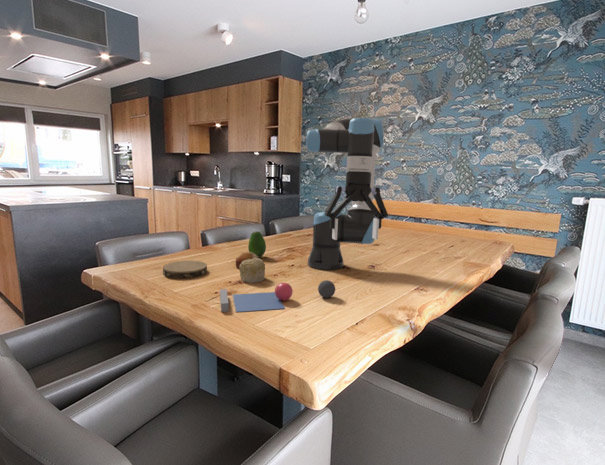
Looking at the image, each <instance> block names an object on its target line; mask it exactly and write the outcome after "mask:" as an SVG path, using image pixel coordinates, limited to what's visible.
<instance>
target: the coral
mask: <svg viewBox="0 0 605 465" xmlns="http://www.w3.org/2000/svg"><path fill="white" fill-rule="evenodd" d="M238 270H239V276H240V280H241V282H245V283H251V284H253V283H261V282H262V281H263V282H264V279H265V276H266V271H265V270H266V264H265V263H264V261H263V260H262V259H261V258H260V257H258V258H254V259H247V260H245V261H243V262H242V263H241V264H240V266H239V269H238Z"/></svg>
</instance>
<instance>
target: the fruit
mask: <svg viewBox="0 0 605 465" xmlns="http://www.w3.org/2000/svg"><path fill="white" fill-rule="evenodd" d="M266 244H267V243H266V240H265V238H264V235H263V234H262V232H260V231H258V230H257V231H253V232H251V234H250V236H249V240H248V244H247V245H248V246H247V247H248V252H251V253H254V254H255V255H257V256H258V258H261V257H263V256H264V254H265V253H266V249H267V245H266Z"/></svg>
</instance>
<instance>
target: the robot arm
mask: <svg viewBox="0 0 605 465" xmlns="http://www.w3.org/2000/svg"><path fill="white" fill-rule="evenodd" d="M383 126H384V125H383V121H382V120H381V119H378V118H369V117H355V118H343V119H339V120H335V121H332V122H329V123H328V124H327V125H326V126H325V127H324V128H323V129H321V128H319V129H318V128H313V129H309V130H308V131H307V133H306V136H305V137H306V141H305V143H306V144H305V146H306V150H307V151H308V152H310V153H316V154H318V153H340V154H341V153H343V154H347V160H346V169H347V170H348V171H346V176H345V177H346V178H345V187H344V186H343V187H342V186H339V185H337V186H336V187H335V192H334V194H333V196H332V198H331V200H330V202H329V203H328V205H327V208H326V210H325V211H320V212H316V213H315V214H314V216H313V223H312V225H313V227H312V228H313V229H312V247H311V250H310V253H309V256H308V259H307V265H308V266H309V267H310V268H312V269H317V270H326V271H328V270H329V271H331V270H332V271H333V270H340V269H342V268H343V267H344V257H343V255H342V251H341V243H347V244H360V245H372V244H373V243H374V242H375V240H378V239H379V230H380V229H381V228H382V220H383V219H384V218H387V217H388V216H389V214H388V211H387V209H386V206H385V204H384V200H383V198H382V196H381V188H380V187H379V186H378V187H377V186H375V170H376V156H377V154H378V153H379V152H380V149H381V148H383V147H384V142H385V141H384V140H385V139H384V127H383ZM343 193H345V196H344V197H343V198H342V200H341V201H340V202H339V204H337V203H338V201H339V200H340V198H341V195H342V194H343ZM373 199H374V200H375V203H376V205H377V206H376V205H375V204H374V202H373V201H374V200H373ZM349 203H351V207H350V208H348V210H347V213H346V214H343V212H342V211H343V210H344V208H346V207H347V205H348V204H349Z"/></svg>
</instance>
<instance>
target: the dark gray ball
mask: <svg viewBox="0 0 605 465" xmlns="http://www.w3.org/2000/svg"><path fill="white" fill-rule="evenodd" d="M317 291H318V294H319V295H320V296H321V297H322V298H325V299H328V298H331V297H333V296H334V295H335V292H336V286H335V283H334V282H332V281H331V280H322V281H321V282H320V283H319V284H318V287H317Z"/></svg>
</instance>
